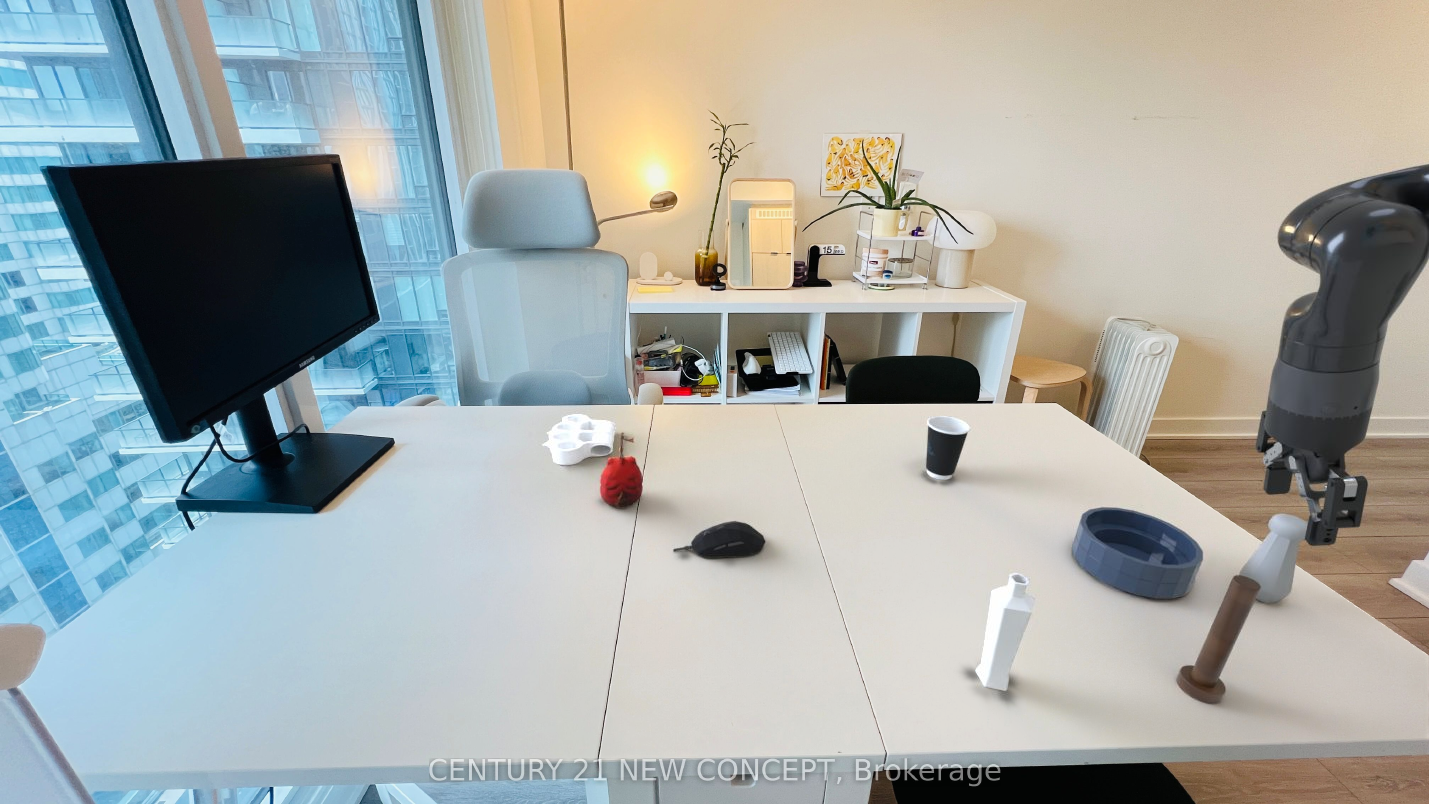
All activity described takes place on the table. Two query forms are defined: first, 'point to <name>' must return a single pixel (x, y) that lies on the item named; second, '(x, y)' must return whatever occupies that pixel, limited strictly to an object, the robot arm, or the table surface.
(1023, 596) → the perfume bottle
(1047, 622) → the table surface
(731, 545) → the gaming mouse
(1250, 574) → the salt shaker
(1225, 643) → the pestle
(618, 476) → the red clay folk toy
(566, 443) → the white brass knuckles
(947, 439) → the dixie cup
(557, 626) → the table surface
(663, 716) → the table surface
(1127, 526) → the bowl
